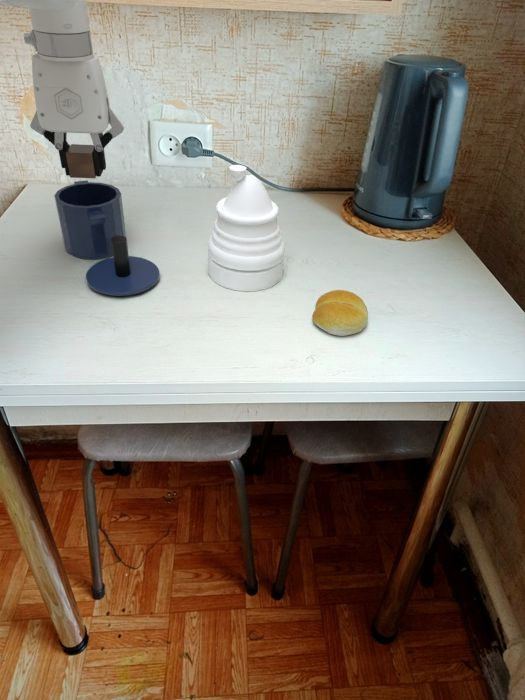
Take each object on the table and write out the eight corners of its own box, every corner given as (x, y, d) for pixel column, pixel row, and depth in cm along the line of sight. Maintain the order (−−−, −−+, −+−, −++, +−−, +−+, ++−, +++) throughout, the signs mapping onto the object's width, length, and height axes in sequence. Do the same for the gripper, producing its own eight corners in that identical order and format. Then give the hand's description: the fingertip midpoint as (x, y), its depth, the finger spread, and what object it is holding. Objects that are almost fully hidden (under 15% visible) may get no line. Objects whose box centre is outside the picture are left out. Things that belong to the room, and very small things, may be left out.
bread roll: (308, 332, 75) (311, 310, 73) (317, 300, 82) (321, 279, 80) (364, 343, 74) (369, 321, 72) (368, 310, 81) (373, 288, 78)
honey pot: (218, 295, 81) (219, 186, 70) (200, 257, 91) (198, 154, 79) (293, 286, 85) (305, 180, 74) (268, 249, 94) (275, 151, 83)
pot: (72, 271, 84) (62, 218, 78) (59, 229, 95) (48, 180, 89) (136, 261, 88) (130, 209, 82) (116, 222, 99) (110, 174, 93)
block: (70, 177, 82) (65, 152, 79) (75, 168, 85) (71, 144, 82) (95, 178, 82) (91, 153, 80) (100, 169, 85) (96, 145, 83)
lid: (94, 304, 77) (86, 262, 73) (81, 267, 85) (73, 227, 81) (168, 291, 82) (165, 250, 77) (149, 257, 90) (145, 218, 85)
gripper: (-7, 46, 68) (25, 180, 80) (120, 53, 70) (134, 183, 81) (11, 36, 74) (38, 162, 86) (128, 43, 75) (139, 166, 87)
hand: (85, 171), depth 83 cm, fingers closed on block, 4 cm apart
